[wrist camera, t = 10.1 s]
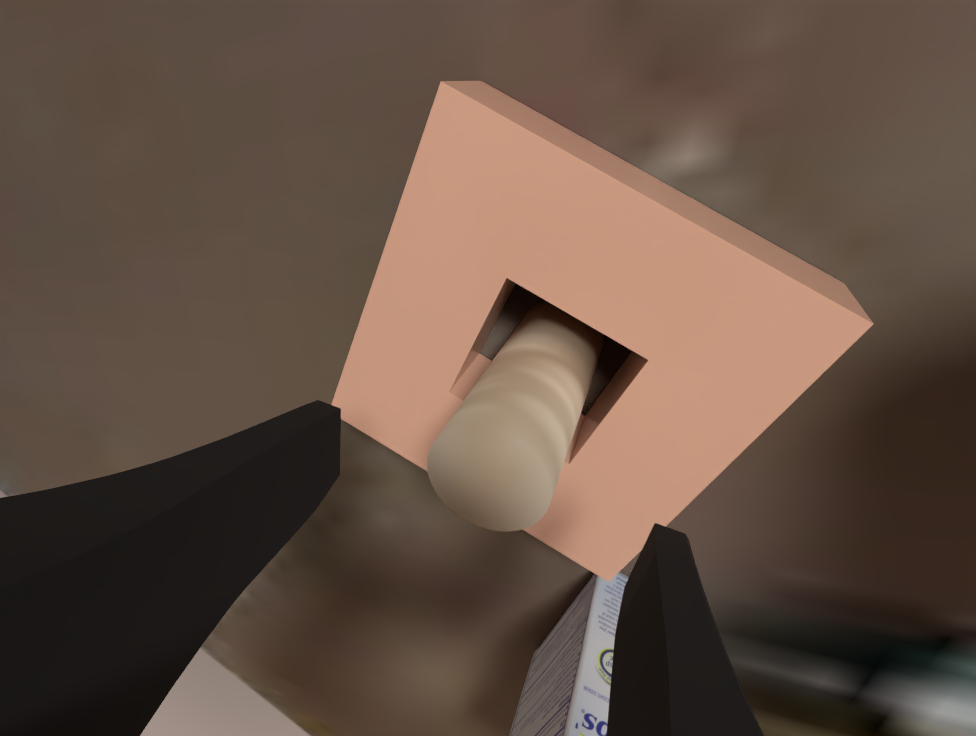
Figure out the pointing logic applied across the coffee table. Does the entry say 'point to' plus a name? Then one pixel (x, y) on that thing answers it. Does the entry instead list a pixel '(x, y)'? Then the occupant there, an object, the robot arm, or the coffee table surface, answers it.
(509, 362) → the peg
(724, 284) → the socket block
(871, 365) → the coffee table surface
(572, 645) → the medicine box
